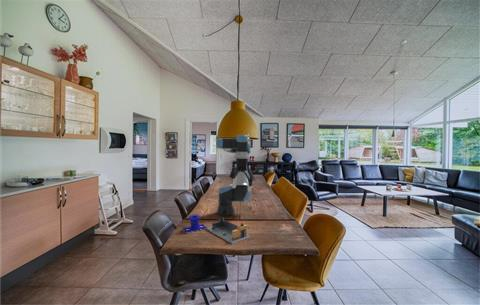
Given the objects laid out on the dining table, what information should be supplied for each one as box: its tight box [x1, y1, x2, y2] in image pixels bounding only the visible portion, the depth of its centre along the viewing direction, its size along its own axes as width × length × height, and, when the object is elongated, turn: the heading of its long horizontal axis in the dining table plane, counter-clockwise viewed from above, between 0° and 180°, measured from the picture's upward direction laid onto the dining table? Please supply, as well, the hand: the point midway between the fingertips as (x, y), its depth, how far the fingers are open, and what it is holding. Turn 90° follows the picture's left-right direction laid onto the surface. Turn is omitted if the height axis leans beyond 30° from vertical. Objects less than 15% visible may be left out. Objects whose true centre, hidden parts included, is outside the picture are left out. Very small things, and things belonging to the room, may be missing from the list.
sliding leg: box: [232, 222, 248, 239], centre depth 132 cm, size 3×11×7 cm, turn 132°
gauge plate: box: [205, 216, 250, 245], centre depth 139 cm, size 28×14×7 cm, turn 42°
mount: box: [181, 214, 208, 234], centre depth 145 cm, size 15×8×9 cm, turn 124°
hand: (241, 189), depth 142 cm, fingers open, 13 cm apart
